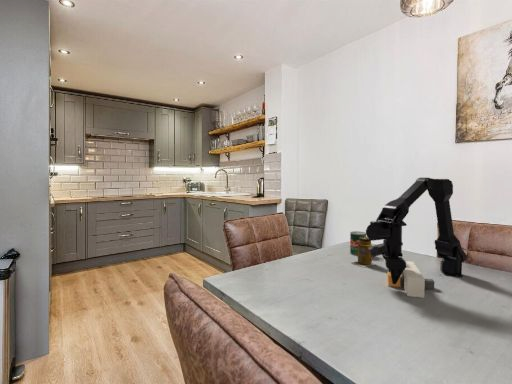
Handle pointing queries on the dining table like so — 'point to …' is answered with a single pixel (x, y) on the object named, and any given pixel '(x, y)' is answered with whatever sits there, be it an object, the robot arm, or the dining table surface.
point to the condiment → (364, 253)
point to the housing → (413, 281)
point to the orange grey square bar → (428, 282)
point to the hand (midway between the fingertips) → (392, 279)
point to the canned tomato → (355, 241)
